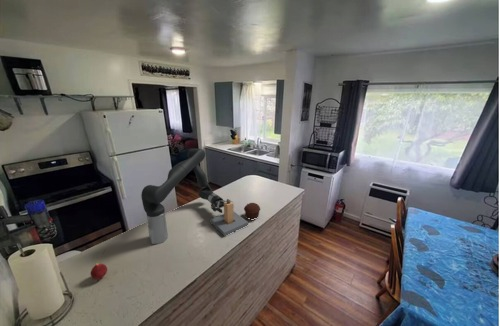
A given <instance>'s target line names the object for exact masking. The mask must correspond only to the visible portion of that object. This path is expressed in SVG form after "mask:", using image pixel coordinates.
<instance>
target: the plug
mask: <svg viewBox="0 0 500 326" xmlns="http://www.w3.org/2000/svg"><path fill="white" fill-rule="evenodd" d="M226 201H227V202H224V207H223V214H224V222H225V223H226V224H227V225H228V224H230V223H233V222H234V214H233V211H234V208H233V207H234V202H233V201H232V200H231V199H229V200H227V199H226ZM231 201H232V202H233V203H232V202H231Z"/></svg>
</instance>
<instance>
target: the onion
mask: <svg viewBox="0 0 500 326" xmlns="http://www.w3.org/2000/svg"><path fill="white" fill-rule="evenodd" d="M107 272H108V267H107V265H106V264H105V263H95V264H94V266H93V267H92V268H91V271H90V277H91V278H92V279H94V280H99V279H102V278H104V277H105V276H106V275H107Z"/></svg>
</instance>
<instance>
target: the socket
mask: <svg viewBox="0 0 500 326" xmlns="http://www.w3.org/2000/svg"><path fill="white" fill-rule="evenodd" d="M233 214H234V222H233V223H230V224H228V225H227V224H226V223H225V222H224V213H223V214H221V215H218V216H215V217H213V218H210V221H209V222H211V223H212V224H213V225H214V226H215V227H216V228H217V229H218V230H219V231H220V232H221V233H222V234H223V235H224V236H226V235H228V234H230V233H232V232H234V231H236V230H239V229H241V228H243V227H245V226H247V225H248V226H249V221H248V220H246V219H244V218H243V216H240V215H239V213H237V212H235V211H234V210H233ZM211 223H210V224H211ZM212 224H211V225H212ZM213 225H212V226H213ZM214 226H213V227H214ZM248 226H247V227H248ZM215 227H214V228H215ZM216 228H215V229H216ZM245 228H246V227H245ZM217 229H216V230H217ZM243 229H244V228H243ZM218 230H217V231H218ZM241 230H242V229H241ZM219 231H218V232H219ZM239 231H240V230H239ZM220 232H219V233H220ZM221 233H220V234H221ZM234 233H235V232H234ZM222 234H221V235H222ZM232 234H233V233H232ZM223 235H222V236H223ZM230 235H231V234H230ZM224 236H223V237H224ZM228 236H229V235H228ZM226 237H227V236H226Z"/></svg>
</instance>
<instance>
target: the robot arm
mask: <svg viewBox="0 0 500 326" xmlns="http://www.w3.org/2000/svg"><path fill="white" fill-rule="evenodd" d="M186 154H187V159H185V160H182V161H180V162H178V163H176V164H175V165H173V167H171V169H170V170H169V171H168V173H167V178H166V181H164V182H163V183H162V184H161V185H159V186H158V185H152V184H148V185H145V186H144V187H143V189H142V191H141V194H140V197H141V201H142V206H143V210H144V212H145V213H146V219H147V229H148V237H149V241H150V242H151V245H159V244H161V243H163V242H166V240H168V238H169V234H168V226H167V218H166V212H165V206H164V205H163V204H162V202H164V200H166V198H167V197H168V196H169V195H170V194H171V192H172V191H173V190H174V189H175V187H176V186H177V185H178V184H179V183H180V182H181V181H182V180H183V179H184V178H185V177H187V175H188V174H189V173H190V172H191V171H192V170H193V172H194V174H195V177H196V180H197V185H198V186H199V188H201V189H199V190H198V192H197V194H198V196H199V198H201V199H203V200H205V201H208V202H209V203H210V209H211V210H212V211H213V212H218V213H220V214H222V213H223V209H222V208H224V202H227V200H230V199H228V198H227V199H226V200H224V199H223V198H222V197H221V196H219V195H218V194H217V193H215V192H213V190H212V188H211V186H210V184H209V183H208V178H207V175H206V173H205V172H204V170H203V169H202V168H201V166H200V165H199V164H200V163H202V162H203V161H204V160H205V157H206V151H205V150H204V149H202V148H190V149H188V151H187V153H186ZM230 201H231V202H232V203H233V204H234V202H233V201H232V200H230ZM233 209H234V206H233Z"/></svg>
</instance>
